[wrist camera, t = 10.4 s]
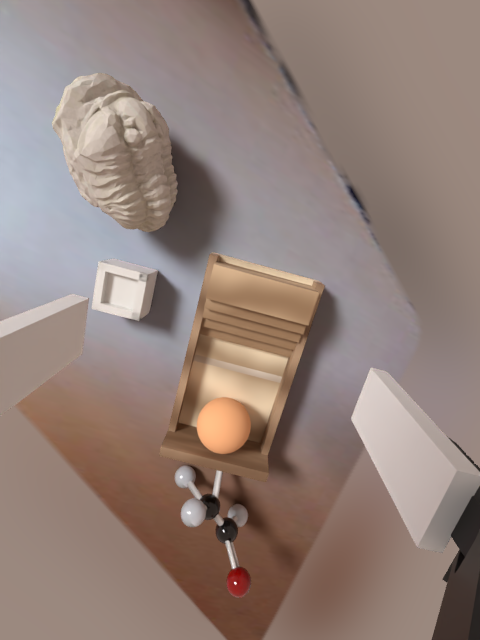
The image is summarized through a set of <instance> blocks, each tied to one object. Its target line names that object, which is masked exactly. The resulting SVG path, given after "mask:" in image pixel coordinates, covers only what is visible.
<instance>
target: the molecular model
mask: <svg viewBox="0 0 480 640" xmlns="http://www.w3.org/2000/svg"><path fill="white" fill-rule="evenodd" d="M222 474H223V472H222V471H218V470H217V471H216V476H215V482H214V487H213V493H212V494H205V495H203V496H202V495H201V493H200V492H199V490H198V489H197V487H196V486H195V484H194V482H195V479H196V473H195V471H194V469H193V468H192V467H190V466H187V465H185V466H182V467H180V468H179V469H178V470H177V471H176V473H175V482H176V484H177V485H178V486H179V487H180V488H184V489H185V488H189V489H190V491H191V492H192V494H193V495H194V497H195V498H193V499H189V500H188V501H186V502H185V503H184V505H183V507H182V509H181V518H182V521H183V523H184V524H185V525H187V526H188V527H197V526H199V525H200V524H201V523H202V522H203V521H204V519H205V520H211V519H214V520H215V522H216V523H217V526H216V536H217V538H218V540H219V541H220V542H221V543H224V544H226V547H227V551H228V555H229V559H230V563H231V567H232V570H231V571H230V572H229V574H228V576H227V588H228V590H229V592H230V594H231V595H233V596H234V597H237V598H240V597H243V596H245V595H246V594H247V593H248V591H249V589H250V586H251V578H250V575H249V573H248V571H247V570H246V569H245V568H243V567H240V566H239V562H238V559H237V555H236V552H235V548H234V544H233V541H234V540H235V539H236V537H237V534H238V527H242V526H243V525H244V524H245V523H246V522H247V519H248V512H247V510H246V508H245V507H244V506H243V505H241V504H235V505H233V506H232V507H231V508H230V509H229V511H228V517H225V518H222V517H221V516H220V515H219V511H220V502H219V499H218V497H219V491H220V485H221V479H222Z"/></svg>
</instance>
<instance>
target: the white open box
mask: <svg viewBox="0 0 480 640" xmlns="http://www.w3.org/2000/svg"><path fill="white" fill-rule="evenodd" d="M157 273H158V270H155V269H151V268H148V267H144V266H140V265H137V264H133V263H129V262H125V261H122V260H118V259H109V260H104V261H99V263H98V269H97V276H96V283H95V289H94V296H93V303H92V309H95V310H99V311H102V312H106V313H110V314H114V315H118V316H122V317H125V318H129V319H133V320H137V321H139V320H141V319H142V318H143V317H144V316H146V315H147V314H148V313H149V312H150V308H151V303H152V298H153V293H154V288H155V283H156V278H157Z"/></svg>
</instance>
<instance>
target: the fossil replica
mask: <svg viewBox="0 0 480 640" xmlns="http://www.w3.org/2000/svg"><path fill="white" fill-rule="evenodd" d="M52 125H53V129H54V130H55V132H56V133H57V134H58V136H59V138H60V139H61V141H62V144H63V151H64V156H65V159H66V162H67V165H68V168H69V171H70V174H71V175H72V177H73V179H74V181H75V183H76V185H77V187H78V189H79V192H80V194H81V195H82V197H83V198H84V199H85V200H87V201H88V202H89V203H90V204H92V205H93V206H95V207H100V208H101V210H102V211H103V212H104V213H106V214H108V215H109V216H111V217H112V218H113V219H115V220H116V221H117V222H118V223H119V224H120V225H121V226H123V227H124V228H126V229H137V228H138V229H139V230H142V231H145V232H151V231H156V230H158V229H160V227H163V226H164V225H165V224H166V221H167V220H168V219H169V213H170V211H171V210H172V207H173V206H174V202H176V195H177V192H178V190H177V189H176V187H177V184H178V183H177V181H176V176H177V175H176V174H175V173H174V166H173V165H172V164H171V163H172V155H171V148H172V146H171V145H170V144H171V142H170V138H169V128H168V126H167V124H166V122H165V120H164V118H163V117H162V116H161V113H160V112H159V111H158V110H157V109H156V107H155V106H154V105H151V104H149V103H147V102H144V101H143V100H142V99H141V98H140V97H139V95H138V94H137V93H136V91H134V90H133V89H132V88H131V87H130V86H128V85H126V84H124V83H121V82H119V81H117V80H115V79H114V78H113V77H112V76H109V75H107V74H103V73H97V74H93V75H89V76H80V77H78V78H76V79H75V80H74V81H73V82H72V84H70V85H68V86H67V87H65V90H64V93H63V97H62V99H61V102H60V104H59V106H58V107H57V108H56V114H55V117H54V119H53V122H52Z"/></svg>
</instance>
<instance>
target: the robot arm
mask: <svg viewBox="0 0 480 640" xmlns="http://www.w3.org/2000/svg"><path fill="white" fill-rule="evenodd" d="M88 302H89V298H86V297H82V296H78V295H74V294H71V295H68V296H65V297H63V298H60V299H58V300H55V301H52V302H50V303H47V304H45V305H42V306H39V307H37V308H34V309H31V310H29V311H26V312H24V313H21V314H18V315H16V316H13V317H10V318H8V319H5V320H3V321H0V416H1V415H3V414H4V413H5V412H6V411H8V410H9V409H11V408H12V407H13V406H14V405H16V404H17V403H18V402H20V401H21V400H22V399H24V398H25V397H26V396H28V395H29V394H30V393H32V392H33V391H34V390H36V389H37V388H38V387H39V386H41V385H42V384H43V383H45V382H46V381H47V380H49V379H50V378H51V377H53V376H54V375H55V374H57V373H58V372H59V371H61V370H62V369H63V368H65V367H66V366H67V365H68V364H70V363H71V362H72V361H74V360H75V359H76V358H78V357H79V356H80V355H82V351H83V343H84V335H85V326H86V318H87V310H88ZM351 420H352V422H353V424H354V426H355V428H356V430H357V432H358V433H359V435H360V437H361V439H362V441H363V443H364V445H365V447H366V449H367V451H368V453H369V455H370V457H371V459H372V461H373V463H374V465H375V466H376V468H377V470H378V472H379V474H380V476H381V478H382V480H383V482H384V484H385V486H386V488H387V490H388V492H389V494H390V496H391V497H392V500H393V502H394V503H395V505H396V507H397V509H398V511H399V513H400V515H401V517H402V519H403V521H404V523H405V525H406V526H407V529H408V531H409V533H410V535H411V537H412V539H413V540H414V542H415V544H416V546H417V548H422V549H426V550H431V551H435V552H440V553H443V551H444V549H445V547H446V545H447V544H448V542H449V540H450V538H451V537H452V538H453V540H454V541H455V543H456V544H457V546H458V547H459V549H460V550H459V551H458V553H457V555H456V557H455V558H454V560H453V562H452V564H451V565H450V567H449V569H448V571H447V572H446V574H445V576H444V578H443V580H444V581H446V582H447V587H446V590H445V594H444V597H443V601H442V605H441V608H440V612H439V615H438V619H437V623H436V626H435V630H434V634H433V637H432V640H480V468H479V467H478V466H477V465H476V464H474V462H473V461H472V460H471V458H469V456H467V455H466V453H465V452H464V451H463V450H462V449H461V448H460V447H459V446H458V445H457V444H456V443H455V442H454V441H452V440H451V439H450V438H448V437H447V436H446V435H445V434H444V433H443V432H442V431H441V430H440V429H439V427H438V426H437V425H436V424H435V423H434V422H433V421H432V420H431V419H430V418H429V417H428V416H427V415H426V413H425V412H424V411H423V410H422V409H421V408H420V407H419V406H418V405H417V404H416V403H415V401H414V400H413V399H412V398H411V397H410V396H409V395H408V394H407V393H406V392H405V391H404V390H403V389H402V387H401V386H400V385H399V384H398V383H397V382H396V381H395V380H394V379H393V378H392V377H391V376H390V374H389V373H388V372H387V371H382V370H378V369H374V368H371V369H370V371H369V374H368V376H367V379H366V381H365V384H364V386H363V389H362V392H361V394H360V397H359V399H358V402H357V404H356V407H355V409H354V412H353V415H352V417H351Z"/></svg>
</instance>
